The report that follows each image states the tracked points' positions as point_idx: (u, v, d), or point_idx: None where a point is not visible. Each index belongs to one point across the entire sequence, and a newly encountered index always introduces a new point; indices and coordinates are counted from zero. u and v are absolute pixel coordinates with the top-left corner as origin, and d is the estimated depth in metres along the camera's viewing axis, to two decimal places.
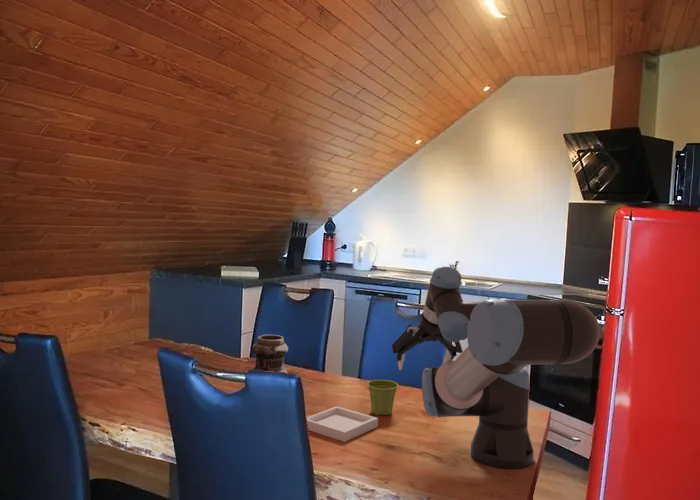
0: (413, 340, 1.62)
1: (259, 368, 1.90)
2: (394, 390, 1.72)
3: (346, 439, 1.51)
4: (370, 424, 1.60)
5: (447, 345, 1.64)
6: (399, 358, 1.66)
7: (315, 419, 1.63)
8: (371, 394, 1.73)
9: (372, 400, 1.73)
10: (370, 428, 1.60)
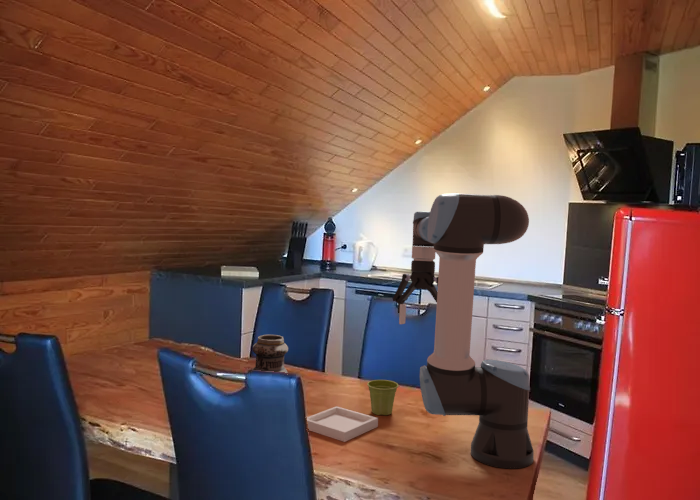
0: None
1: (259, 368, 1.90)
2: (394, 390, 1.72)
3: (346, 439, 1.51)
4: (370, 424, 1.60)
5: (434, 295, 1.82)
6: (399, 310, 1.90)
7: (315, 419, 1.63)
8: (371, 394, 1.73)
9: (372, 400, 1.73)
10: (370, 428, 1.60)
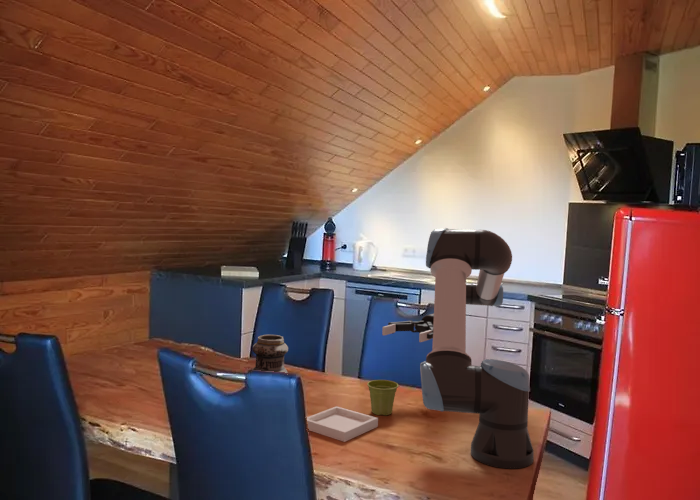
0: None
1: (259, 368, 1.90)
2: (394, 390, 1.72)
3: (346, 439, 1.51)
4: (370, 424, 1.60)
5: (432, 328, 1.86)
6: None
7: (315, 419, 1.63)
8: (371, 394, 1.73)
9: (372, 400, 1.73)
10: (370, 428, 1.60)
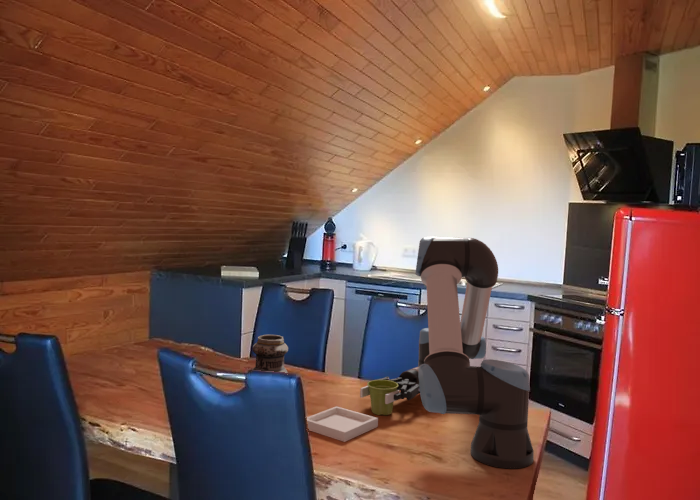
0: None
1: (259, 368, 1.90)
2: (394, 390, 1.72)
3: (346, 439, 1.51)
4: (370, 424, 1.60)
5: (404, 386, 1.77)
6: None
7: (315, 419, 1.63)
8: (371, 394, 1.73)
9: (372, 400, 1.73)
10: (370, 428, 1.60)
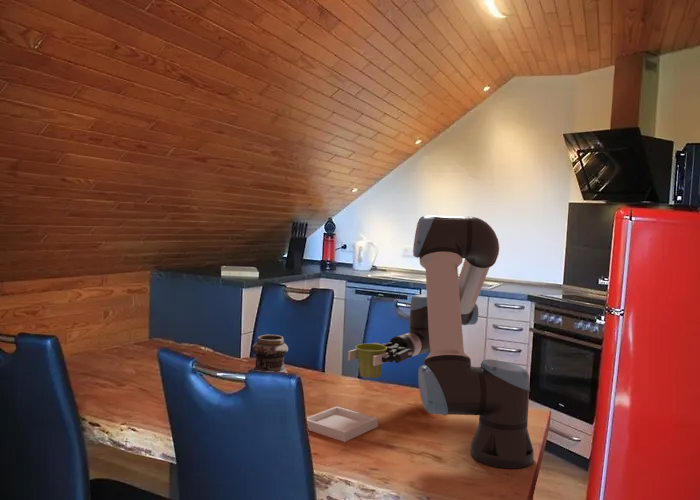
0: None
1: (259, 368, 1.90)
2: (382, 352, 1.69)
3: (346, 439, 1.51)
4: (370, 424, 1.60)
5: (394, 350, 1.74)
6: None
7: (315, 419, 1.63)
8: (359, 357, 1.70)
9: (360, 363, 1.70)
10: (370, 428, 1.60)
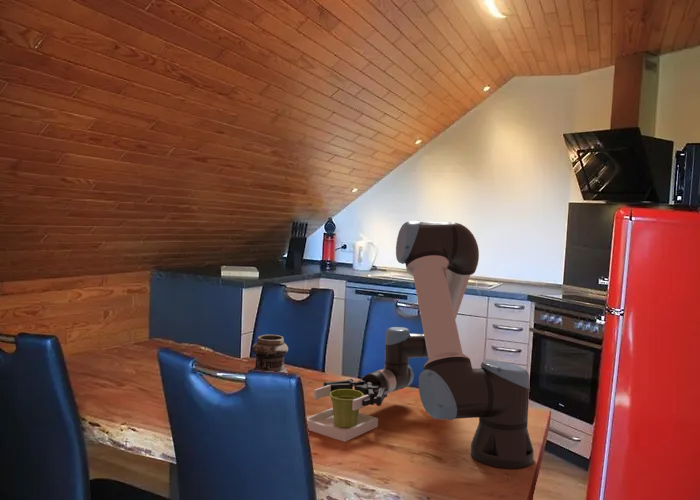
0: None
1: (259, 368, 1.90)
2: None
3: (346, 439, 1.51)
4: (370, 424, 1.60)
5: (371, 391, 1.63)
6: None
7: (315, 419, 1.63)
8: (333, 405, 1.59)
9: (335, 412, 1.59)
10: (370, 428, 1.60)
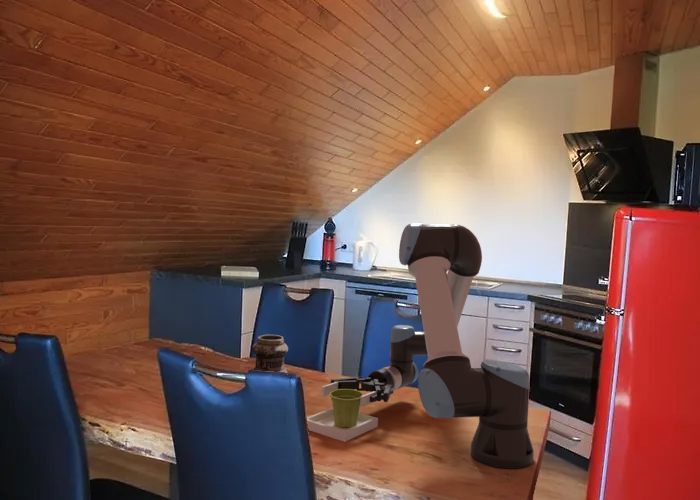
0: None
1: (259, 368, 1.90)
2: (359, 400, 1.58)
3: (346, 439, 1.51)
4: (370, 424, 1.60)
5: (378, 387, 1.67)
6: None
7: (315, 419, 1.63)
8: (334, 405, 1.59)
9: (335, 411, 1.59)
10: (370, 428, 1.60)
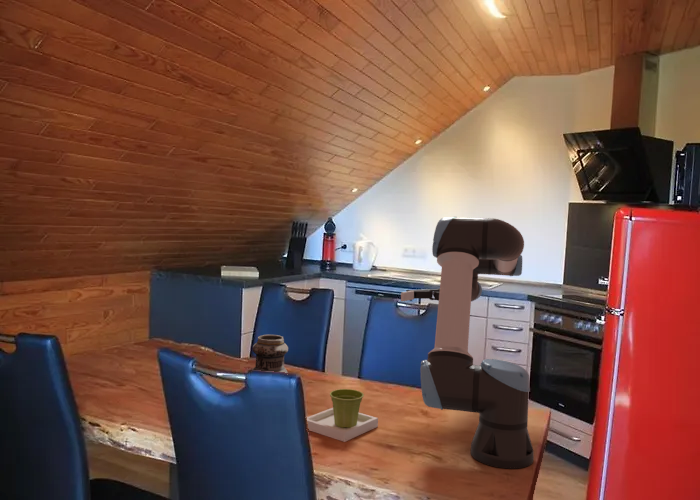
0: None
1: (259, 368, 1.90)
2: (359, 400, 1.58)
3: (346, 439, 1.51)
4: (370, 424, 1.60)
5: None
6: None
7: (315, 419, 1.63)
8: (334, 405, 1.59)
9: (335, 412, 1.59)
10: (370, 428, 1.60)
